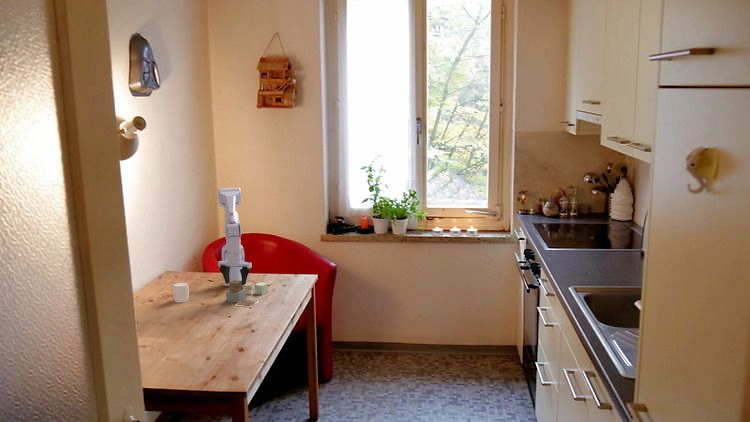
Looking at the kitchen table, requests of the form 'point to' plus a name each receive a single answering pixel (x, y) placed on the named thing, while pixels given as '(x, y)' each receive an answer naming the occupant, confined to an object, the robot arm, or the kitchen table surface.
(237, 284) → the walnut cube
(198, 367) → the kitchen table surface
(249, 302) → the swatch
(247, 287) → the birch cube
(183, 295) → the shot glass
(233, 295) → the slate base
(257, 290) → the sage cube
